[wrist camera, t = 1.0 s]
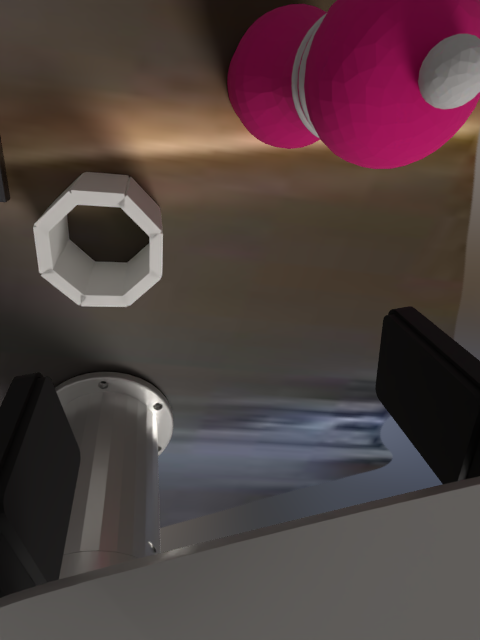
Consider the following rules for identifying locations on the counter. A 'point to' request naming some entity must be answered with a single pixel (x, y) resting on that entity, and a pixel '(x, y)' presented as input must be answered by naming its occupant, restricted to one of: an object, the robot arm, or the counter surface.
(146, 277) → the white hollow octagonal tube
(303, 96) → the pepper mill
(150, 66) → the counter surface
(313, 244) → the counter surface
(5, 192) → the duct stub
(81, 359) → the counter surface
